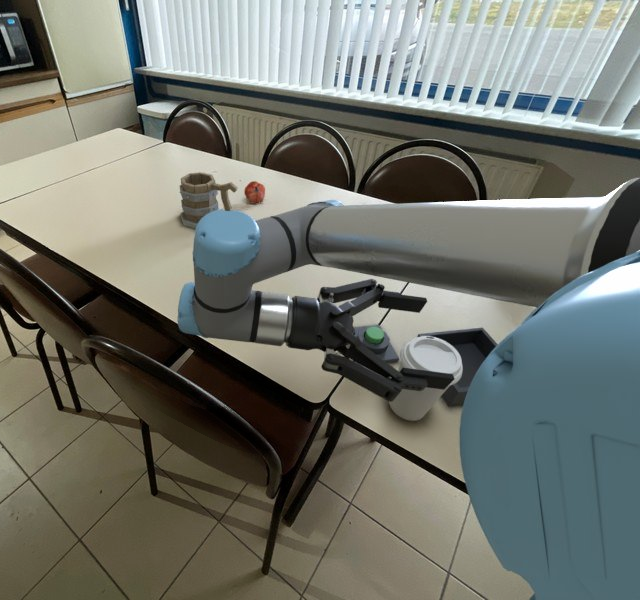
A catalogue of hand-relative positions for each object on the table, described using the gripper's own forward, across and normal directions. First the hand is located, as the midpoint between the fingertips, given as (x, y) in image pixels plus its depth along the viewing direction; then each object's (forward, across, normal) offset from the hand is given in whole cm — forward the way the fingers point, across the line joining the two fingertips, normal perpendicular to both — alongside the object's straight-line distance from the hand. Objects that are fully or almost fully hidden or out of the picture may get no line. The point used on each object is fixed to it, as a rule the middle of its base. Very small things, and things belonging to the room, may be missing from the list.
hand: (434, 340), depth 52 cm
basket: (+19, -11, -21) cm, 30 cm away
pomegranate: (-28, -82, -32) cm, 93 cm away
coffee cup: (+6, -2, -22) cm, 22 cm away
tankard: (-42, -66, -32) cm, 85 cm away
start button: (+1, -16, -21) cm, 26 cm away
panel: (+1, -16, -23) cm, 28 cm away
